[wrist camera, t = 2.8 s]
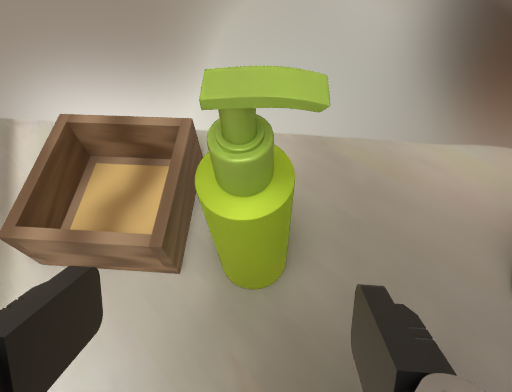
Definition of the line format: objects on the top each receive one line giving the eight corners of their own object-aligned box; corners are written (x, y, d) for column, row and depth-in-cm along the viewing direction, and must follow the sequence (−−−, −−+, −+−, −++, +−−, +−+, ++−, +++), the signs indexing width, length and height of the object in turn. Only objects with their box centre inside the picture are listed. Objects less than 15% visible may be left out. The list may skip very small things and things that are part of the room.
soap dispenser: (298, 290, 30) (336, 135, 13) (218, 288, 30) (149, 133, 13) (297, 229, 33) (326, 36, 16) (224, 227, 33) (175, 36, 16)
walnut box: (202, 157, 37) (192, 118, 32) (179, 273, 31) (161, 247, 26) (88, 152, 38) (59, 114, 33) (41, 264, 32) (-3, 237, 27)
